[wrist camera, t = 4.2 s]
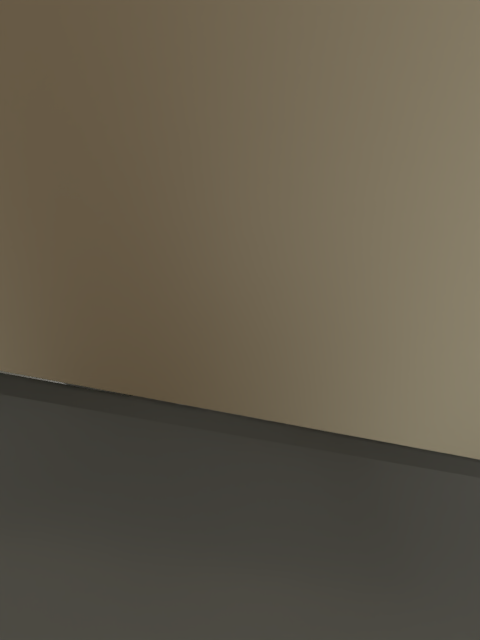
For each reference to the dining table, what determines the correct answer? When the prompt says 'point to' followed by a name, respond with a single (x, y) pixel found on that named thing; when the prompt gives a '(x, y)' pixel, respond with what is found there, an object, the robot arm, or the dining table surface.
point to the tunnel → (248, 208)
